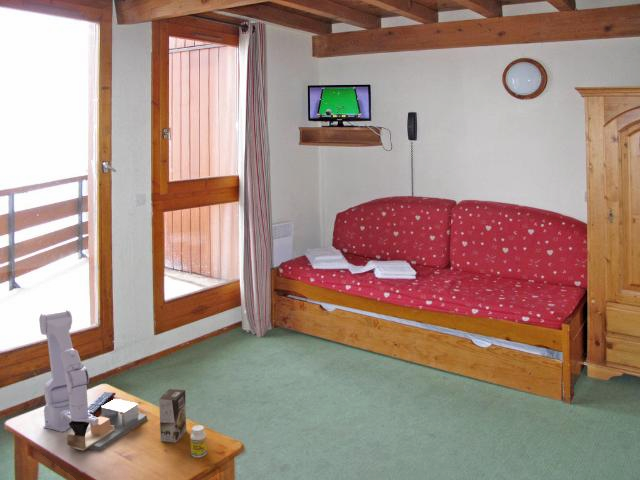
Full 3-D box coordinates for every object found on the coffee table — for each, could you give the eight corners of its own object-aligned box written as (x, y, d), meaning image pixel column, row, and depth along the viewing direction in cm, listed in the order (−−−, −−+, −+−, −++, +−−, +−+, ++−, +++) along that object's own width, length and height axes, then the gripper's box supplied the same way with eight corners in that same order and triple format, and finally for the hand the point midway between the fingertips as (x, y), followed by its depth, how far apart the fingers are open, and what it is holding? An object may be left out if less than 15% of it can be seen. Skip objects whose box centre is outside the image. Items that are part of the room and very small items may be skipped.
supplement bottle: (206, 449, 225) (205, 423, 224) (207, 457, 220) (206, 430, 218) (190, 450, 224) (189, 425, 222) (191, 458, 219) (190, 432, 217)
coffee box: (177, 443, 229) (175, 400, 226) (159, 441, 230) (158, 398, 227) (187, 431, 238) (186, 389, 235) (170, 429, 239) (169, 388, 236)
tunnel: (102, 421, 241) (101, 406, 240) (115, 413, 248) (114, 398, 247) (125, 426, 237) (124, 412, 236) (138, 418, 244) (137, 403, 243)
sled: (67, 446, 223) (66, 434, 222) (99, 426, 237) (98, 414, 236) (83, 450, 220) (82, 438, 219) (114, 430, 234) (113, 418, 233)
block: (90, 432, 231) (90, 422, 231) (100, 426, 236) (99, 416, 235) (100, 435, 230) (100, 424, 229) (110, 428, 234) (109, 418, 233)
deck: (70, 443, 228) (69, 439, 228) (119, 412, 252) (119, 408, 251) (99, 451, 223) (99, 446, 223) (147, 418, 247) (146, 415, 247)
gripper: (103, 402, 222) (105, 438, 225) (70, 394, 227) (72, 430, 230) (89, 410, 216) (91, 448, 218) (55, 402, 221) (58, 439, 224)
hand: (81, 440), depth 224 cm, fingers closed, pressing on sled
